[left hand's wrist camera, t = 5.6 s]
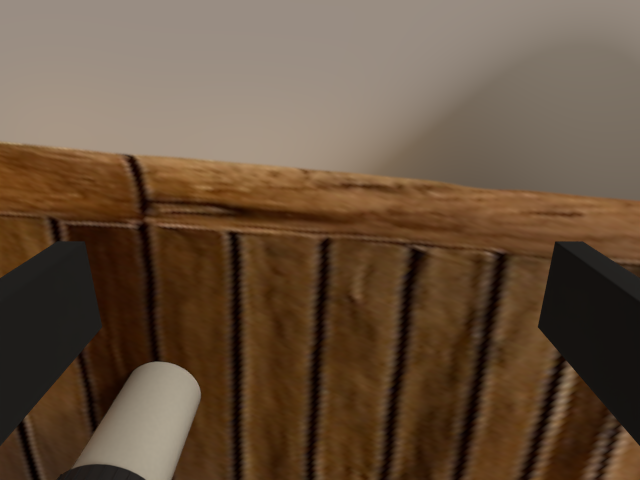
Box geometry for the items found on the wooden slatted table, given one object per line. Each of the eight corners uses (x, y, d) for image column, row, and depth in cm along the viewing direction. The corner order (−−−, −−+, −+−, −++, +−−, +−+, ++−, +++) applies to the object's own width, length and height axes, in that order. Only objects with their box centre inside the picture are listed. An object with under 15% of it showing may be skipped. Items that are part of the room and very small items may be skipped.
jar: (213, 409, 49) (169, 548, 35) (148, 430, 50) (80, 572, 36) (179, 352, 46) (116, 476, 32) (112, 374, 48) (22, 505, 33)
